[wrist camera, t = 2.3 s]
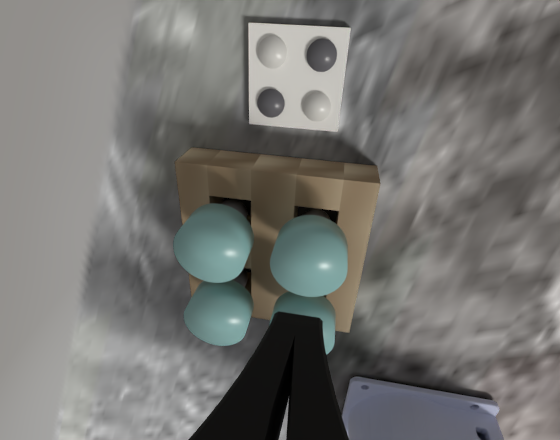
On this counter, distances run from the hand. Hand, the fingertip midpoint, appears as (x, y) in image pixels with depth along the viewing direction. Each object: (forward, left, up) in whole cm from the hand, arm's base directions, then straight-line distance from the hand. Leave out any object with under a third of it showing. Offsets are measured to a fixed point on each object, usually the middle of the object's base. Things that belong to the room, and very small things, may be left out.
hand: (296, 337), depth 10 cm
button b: (+4, +4, -7) cm, 9 cm away
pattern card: (+2, -6, -8) cm, 10 cm away
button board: (+2, +2, -8) cm, 9 cm away
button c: (0, 0, -7) cm, 7 cm away
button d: (+4, 0, -7) cm, 8 cm away
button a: (0, +4, -7) cm, 8 cm away
